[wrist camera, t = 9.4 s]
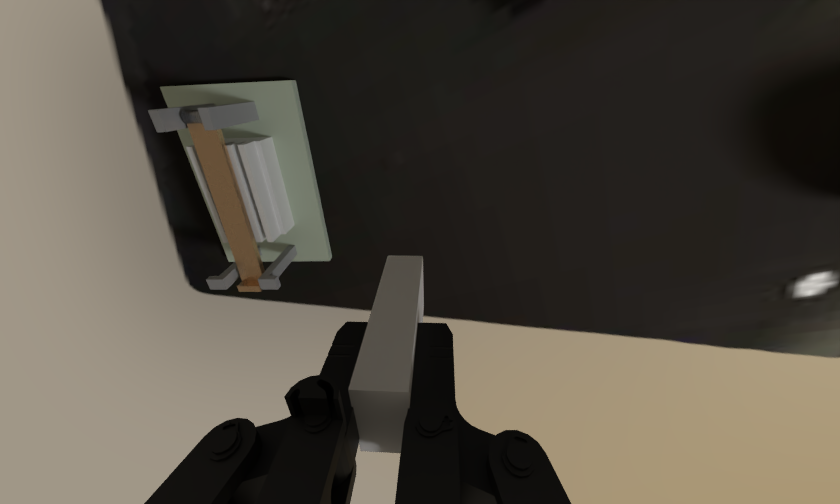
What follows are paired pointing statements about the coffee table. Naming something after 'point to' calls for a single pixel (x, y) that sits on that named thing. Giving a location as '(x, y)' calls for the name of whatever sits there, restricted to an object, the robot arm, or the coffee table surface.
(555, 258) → the coffee table surface
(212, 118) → the heatsink fixture
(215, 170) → the strap
